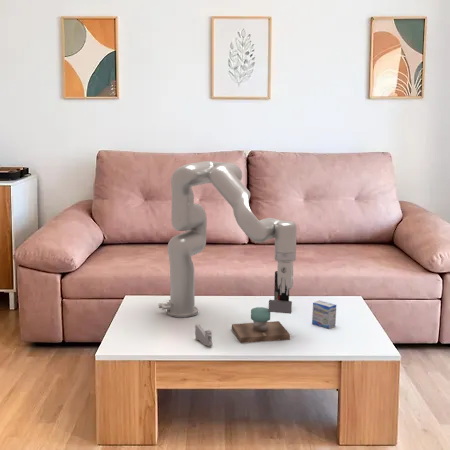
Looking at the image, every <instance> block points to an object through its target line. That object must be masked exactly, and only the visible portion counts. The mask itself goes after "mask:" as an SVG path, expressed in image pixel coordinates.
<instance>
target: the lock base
mask: <svg viewBox="0 0 450 450" xmlns="http://www.w3.org/2000/svg"><path fill="white" fill-rule="evenodd" d="M231 331H232V332H233V334H234V335H235V337H236V339H237V341H239V343H240V344H248V343H263V342H274V341H275V342H279V341H290V340H291V334H290V333H289V331H288V329H286V328H285V327H284V325H283V324H282V323H281V322H280V321H278V320H276V321H264V322H258V321H253V322H245V323H231Z"/></svg>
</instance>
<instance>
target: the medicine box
mask: <svg viewBox="0 0 450 450" xmlns="http://www.w3.org/2000/svg"><path fill="white" fill-rule="evenodd" d="M311 316H312V317H311V323H312V325H314V326H317V327H321V328H324V329H328V330H330V329H333V328H335V327H336V318H337V304H335V303H331V302H327V301H323V300H315V301H313V302H312V315H311Z"/></svg>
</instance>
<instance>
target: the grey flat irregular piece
mask: <svg viewBox="0 0 450 450" xmlns="http://www.w3.org/2000/svg"><path fill="white" fill-rule="evenodd" d="M194 328H195V331H194V332H195V338H194V339H195V340H196V341H200V342H201V344H203V345H204V346H205V347H211V346H213V345H214V343H213V335H212V330H210V329H204V328H203V327H202V325H201V323H200V324H199V323H197V324H195V326H194Z"/></svg>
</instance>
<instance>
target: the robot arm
mask: <svg viewBox="0 0 450 450" xmlns="http://www.w3.org/2000/svg"><path fill="white" fill-rule="evenodd" d="M242 179H243V172H242V169H241V168H240V166H239V165H237V164H235V163H234V162H224V161H223V162H221V161H210V160H207V161H206V160H205V161H199V162H192V163H186V164H184V165H182V166H180V167H178V168H176V169H175V170H174V171H173V173H172V175H171V180H170V187H171V189H170V190H171V207H170V209H171V215H170V216H171V219H170V220H171V221H170V222H171V225H172V228H173V229H174V230H175V231H179V232H182V233H178V234H175V235H174V236H172V237H171V238H170V240H169V241H168V244H167V246H166V247H167V248H166V249H167V255H168V260H169V275H170V276H169V282H170V283H169V284H170V287H169V291H170V294H169V295H170V299H168V302H167V301H166V303H158V309H161V310H165V311H166V314H167V315H168V316H170V317H172V318H173V317H175V318H189V317H194V316H197V315H198V313H199V308H198V307H196V306H195V281H196V280H195V265H194V262H193V261H194V260H193V258H192V256H195V255H197V254H199V253H201V252H203V251H204V249H205V247H206V245H207V226H208V225H207V222H208V220H207V219H208V218H207V213H206V211H205V208H204V207H203V206H202V205H201V204H199V203H195V200H194V199H195V195H194V191H193V189H192V187H195V186H200V185H205V184H212V185H213V187H214V188H215V189H216V190H217V191H218V193H219V194H220V195H221V196H222V197H223V199H225V201H226V202H227V203H228V204H229V205H230V207H231V208H232V210H233V211H232V212H233V215H234V218H235V221H236V223H237V225H238V227H239V228H240V229H241V230H242V232H244V233H245V235H246V237H248V238H249V239H250V240H251V241H253V242H255V243H264V242H266V241H269V240H273V239H274V261H276V262H277V271H278V272H277V280H278V288H279V289H280V300H281V301H290V290H291V289H292V287H293V285H294V262H295V261H297V258H296V257H297V230H298V229H297V224H296V222H294V221H292V220H281V219H278V218H274V217H266V218H263V219H260V220H259V219H258V217H257V216H256V215H255V214H254V213H253V211H252V210H251V208H250V198H251V191H249V189H248V188H247V187H246V186H245V185H244V183H242V181H241V180H242ZM184 231H185V232H184ZM288 293H289V294H288Z"/></svg>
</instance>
